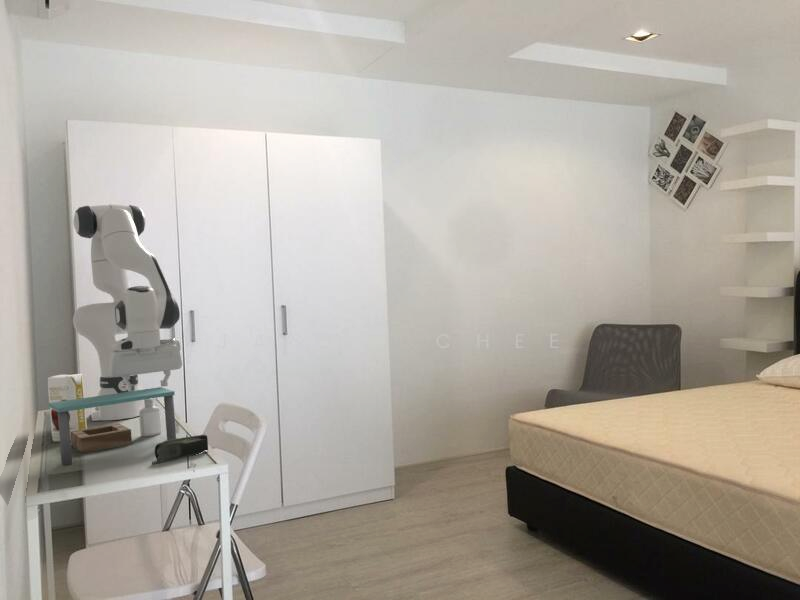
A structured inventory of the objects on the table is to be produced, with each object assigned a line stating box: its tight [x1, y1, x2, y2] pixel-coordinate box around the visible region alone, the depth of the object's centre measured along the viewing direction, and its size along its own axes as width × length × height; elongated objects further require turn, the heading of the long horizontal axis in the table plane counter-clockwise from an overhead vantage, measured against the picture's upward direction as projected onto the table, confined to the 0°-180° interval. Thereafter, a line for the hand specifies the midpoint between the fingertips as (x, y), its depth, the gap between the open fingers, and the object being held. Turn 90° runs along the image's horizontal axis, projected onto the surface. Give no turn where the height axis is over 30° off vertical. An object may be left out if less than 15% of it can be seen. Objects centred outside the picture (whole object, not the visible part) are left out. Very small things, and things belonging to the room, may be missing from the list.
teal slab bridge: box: [48, 386, 177, 466], centre depth 185 cm, size 12×29×14 cm, turn 127°
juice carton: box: [47, 373, 88, 443], centre depth 203 cm, size 8×9×19 cm
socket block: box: [70, 422, 133, 454], centre depth 194 cm, size 13×13×4 cm
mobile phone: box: [151, 434, 209, 465], centre depth 174 cm, size 5×3×15 cm
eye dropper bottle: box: [138, 398, 162, 438], centre depth 203 cm, size 4×6×12 cm
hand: (148, 388), depth 202 cm, fingers open, 8 cm apart
